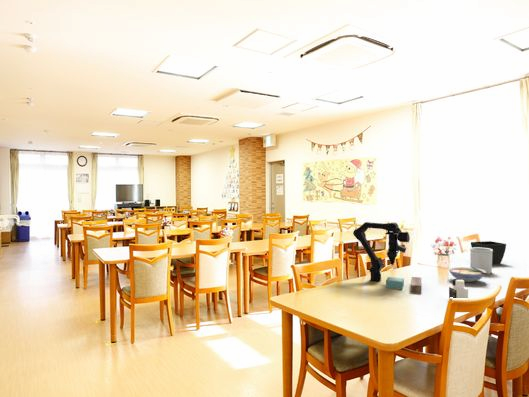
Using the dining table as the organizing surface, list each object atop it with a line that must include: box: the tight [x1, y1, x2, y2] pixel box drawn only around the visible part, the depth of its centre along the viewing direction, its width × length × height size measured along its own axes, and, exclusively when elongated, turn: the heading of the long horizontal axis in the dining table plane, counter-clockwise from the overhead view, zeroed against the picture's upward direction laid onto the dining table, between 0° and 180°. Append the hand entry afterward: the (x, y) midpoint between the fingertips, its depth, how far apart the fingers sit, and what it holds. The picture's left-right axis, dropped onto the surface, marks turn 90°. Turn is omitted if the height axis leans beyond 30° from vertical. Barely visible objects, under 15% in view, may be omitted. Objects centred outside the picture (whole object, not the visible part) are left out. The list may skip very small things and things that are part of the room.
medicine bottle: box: [448, 278, 469, 299], centre depth 209 cm, size 7×7×12 cm
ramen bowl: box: [448, 266, 488, 283], centre depth 251 cm, size 25×23×8 cm
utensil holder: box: [469, 247, 493, 275], centre depth 275 cm, size 15×15×18 cm
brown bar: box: [410, 276, 422, 294], centre depth 235 cm, size 6×22×5 cm, turn 157°
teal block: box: [385, 276, 405, 290], centre depth 241 cm, size 10×10×5 cm
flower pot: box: [470, 240, 507, 265], centre depth 307 cm, size 19×19×17 cm
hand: (393, 263), depth 250 cm, fingers open, 8 cm apart
